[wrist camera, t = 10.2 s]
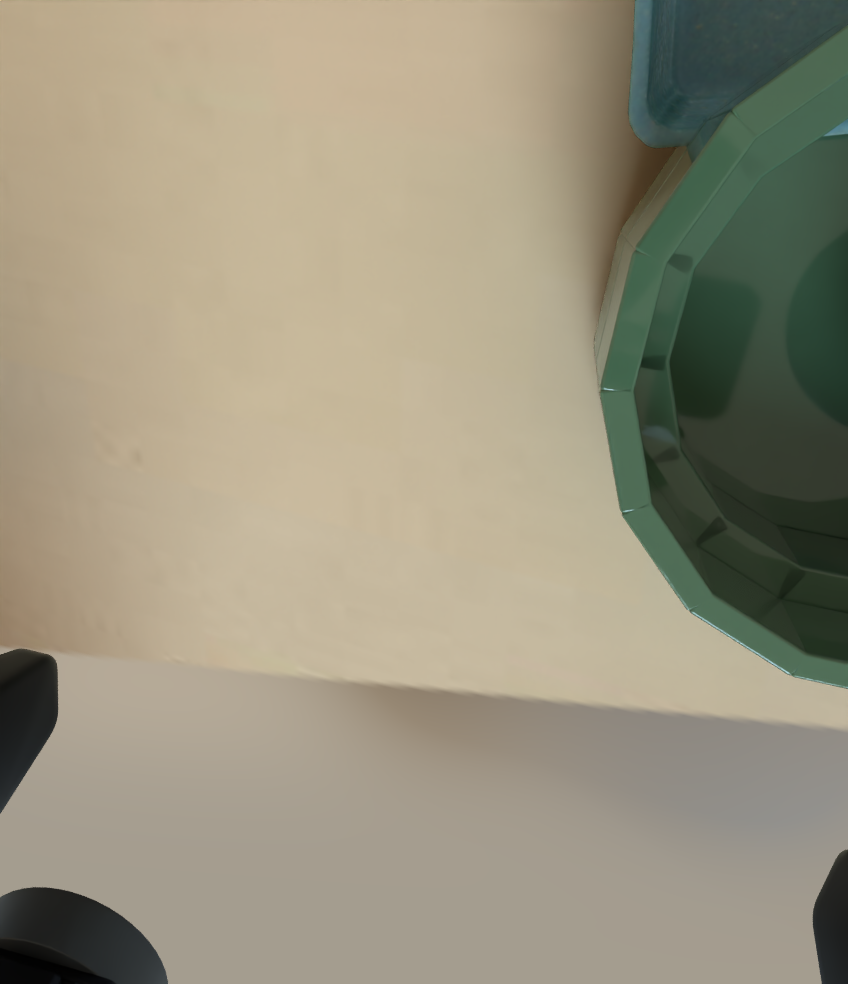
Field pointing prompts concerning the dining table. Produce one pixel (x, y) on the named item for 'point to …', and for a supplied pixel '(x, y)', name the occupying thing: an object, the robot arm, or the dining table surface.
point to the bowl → (743, 366)
